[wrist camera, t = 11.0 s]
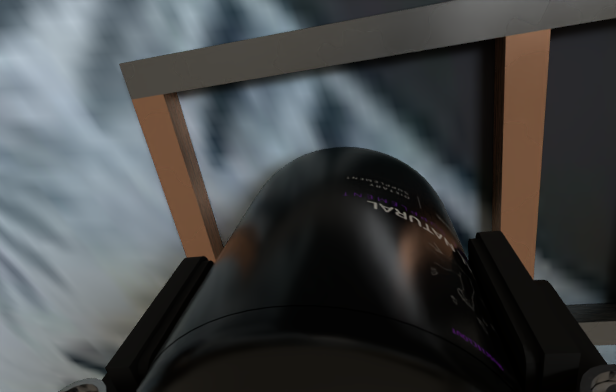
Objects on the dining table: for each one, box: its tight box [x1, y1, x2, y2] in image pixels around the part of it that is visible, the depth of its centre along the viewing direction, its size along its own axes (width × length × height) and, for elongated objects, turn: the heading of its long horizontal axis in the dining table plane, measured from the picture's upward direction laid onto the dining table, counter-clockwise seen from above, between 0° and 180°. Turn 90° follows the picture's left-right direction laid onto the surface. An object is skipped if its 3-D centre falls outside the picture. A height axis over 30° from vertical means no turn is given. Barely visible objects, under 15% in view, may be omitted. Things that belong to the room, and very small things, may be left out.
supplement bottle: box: [136, 147, 523, 392], centre depth 8 cm, size 7×7×12 cm
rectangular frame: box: [119, 0, 616, 345], centre depth 13 cm, size 30×13×1 cm, turn 100°
